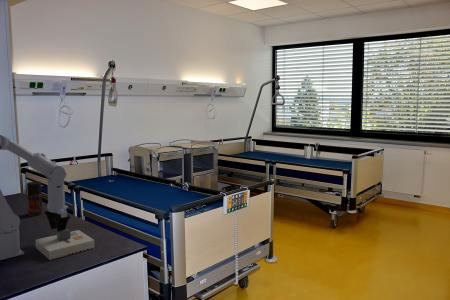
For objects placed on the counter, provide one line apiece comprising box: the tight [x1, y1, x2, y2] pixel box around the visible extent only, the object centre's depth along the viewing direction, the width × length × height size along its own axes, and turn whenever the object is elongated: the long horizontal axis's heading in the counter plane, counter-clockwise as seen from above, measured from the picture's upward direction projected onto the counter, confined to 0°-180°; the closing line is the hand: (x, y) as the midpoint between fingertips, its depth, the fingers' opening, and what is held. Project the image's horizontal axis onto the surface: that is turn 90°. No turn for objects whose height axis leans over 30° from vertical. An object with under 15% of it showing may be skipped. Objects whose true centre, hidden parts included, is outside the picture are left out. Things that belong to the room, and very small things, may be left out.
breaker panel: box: [35, 229, 95, 261], centre depth 138 cm, size 16×14×3 cm
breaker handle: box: [56, 228, 71, 241], centre depth 139 cm, size 4×2×3 cm, turn 134°
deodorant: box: [26, 181, 43, 217], centre depth 176 cm, size 6×6×15 cm
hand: (57, 231), depth 143 cm, fingers open, 7 cm apart
